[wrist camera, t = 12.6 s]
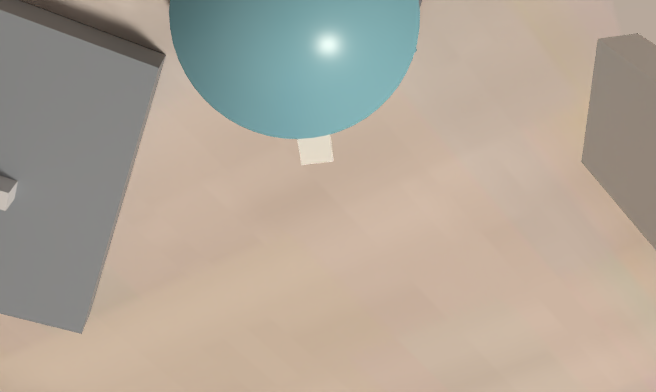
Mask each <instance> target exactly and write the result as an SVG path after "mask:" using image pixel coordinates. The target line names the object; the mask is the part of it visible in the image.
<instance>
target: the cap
mask: <svg viewBox="0 0 656 392" xmlns="http://www.w3.org/2000/svg"><path fill="white" fill-rule="evenodd" d="M169 17H170V30H171V35H172V40H173V44H174V47H175V50H176V53H177V56H178V59H179V61H180V64H181V66H182V68H183V70H184V72H185V74H186V75H187V77H188V78H189V80H190V82H191V83H192V85H193V86H194V88H195V89H196V90H197V91H198V92H199V94H200V95H201V96H202V97H203V98H204V99H205V100H206V101H207V102H208V103H209V104H210V105H211V106H212V107H213V108H214V109H215V110H217V111H218V112H219V113H221V114H222V115H223V116H225V117H226V118H228V119H229V120H231V121H233V122H235V123H236V124H238V125H240V126H242V127H244V128H247V129H249V130H252V131H254V132H257V133H261V134H264V135H268V136H273V137H279V138H289V139H297V140H298V147H299V153H300V159H301V165H309V164H317V163H325V162H333V151H332V142H331V134H333V133H336V132H339V131H342V130H344V129H346V128H348V127H351V126H353V125H355V124H357V123H358V122H360V121H362V120H363V119H365V118H367V117H368V116H369V115H370V114H372V113H373V112H374V111H376V110H377V109H378V108H379V107H380V106H381V105H382V104H383V103H384V102H385V101H386V100H387V99H388V98H389V97H390V96H391V95H392V93H393V92H394V91H395V90H396V88H397V87H398V86H399V84H400V82H401V81H402V79H403V77H404V76H405V74H406V72H407V70H408V68H409V65H410V63H411V61H412V58H413V55H414V53H415V52H416V51H417V49H416V45H417V39H418V33H419V22H420V9H419V0H170V7H169Z"/></svg>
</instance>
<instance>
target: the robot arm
mask: <svg viewBox="0 0 656 392" xmlns="http://www.w3.org/2000/svg"><path fill="white" fill-rule="evenodd" d="M582 163H583V164H584V166H585V167H586V168H587V169H588V170H589V171H590V173H591V174H592V175H593V176H594V177H595V179H596V180H597V181H598V182H599V183H600V185H601V186H602V187H603V188H604V189H605V190H606V192H607V193H608V194H609V195H610V196H611V198H612V199H613V200H614V201H615V202H616V203H617V205H618V206H619V207H620V208H621V209H622V211H623V212H624V213H625V214H626V215H627V217H628V218H629V219H630V220H631V221H632V222H633V224H634V225H635V226H636V227H637V228H638V230H639V231H640V232H641V233H642V234H643V236H644V237H645V238H646V239H647V240H648V241H649V243H650V244H651V245H652V246H653V247H654V249H655V250H656V45H655V44H653V43H652V42H650V41H649V40H647V39H646V38H644V37H642V36H641V35H639V34H638V33H637V34H629V35H622V36H615V37H608V38H600V39H598V42H597V49H596V57H595V64H594V72H593V79H592V87H591V94H590V102H589V109H588V117H587V124H586V132H585V139H584V147H583V154H582Z"/></svg>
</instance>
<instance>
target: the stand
mask: <svg viewBox="0 0 656 392" xmlns="http://www.w3.org/2000/svg"><path fill="white" fill-rule="evenodd" d="M165 56H166V55H164V54H162V53H159V52H156V51H154V50H151V49H148V48H146V47H143V46H140V45H138V44H135V43H132V42H130V41H127V40H124V39H122V38H119V37H116V36H113V35H111V34H108V33H105V32H103V31H100V30H97V29H95V28H92V27H89V26H87V25H84V24H81V23H79V22H76V21H73V20H71V19H68V18H65V17H63V16H60V15H57V14H55V13H52V12H49V11H47V10H44V9H41V8H39V7H36V6H33V5H31V4H28V3H25V2H23V1H20V0H0V314H4V315H8V316H12V317H16V318H20V319H25V320H29V321H33V322H37V323H41V324H45V325H49V326H53V327H57V328H61V329H65V330H69V331H73V332H77V333H81V334H82V331H83V329H84V327H85V324H86V322H87V319H88V317H89V314H90V311H91V308H92V304H93V301H94V298H95V294H96V291H97V287H98V284H99V281H100V277H101V274H102V270H103V267H104V264H105V260H106V257H107V253H108V250H109V247H110V243H111V240H112V236H113V233H114V230H115V226H116V223H117V219H118V216H119V213H120V209H121V206H122V202H123V199H124V195H125V192H126V189H127V185H128V182H129V178H130V175H131V172H132V168H133V165H134V161H135V158H136V155H137V151H138V148H139V144H140V141H141V138H142V134H143V131H144V127H145V124H146V121H147V117H148V114H149V110H150V107H151V104H152V100H153V97H154V93H155V90H156V87H157V83H158V80H159V76H160V73H161V70H162V66H163V63H164V59H165Z"/></svg>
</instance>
